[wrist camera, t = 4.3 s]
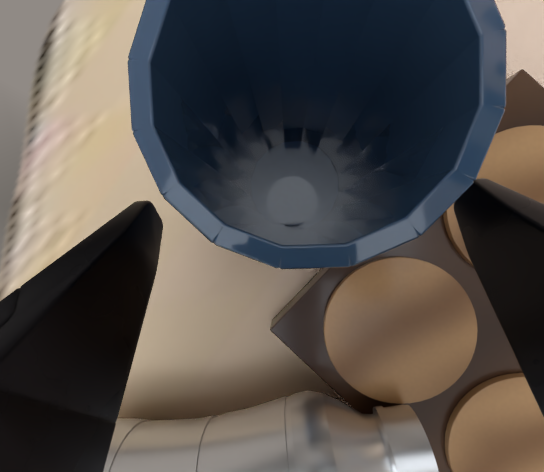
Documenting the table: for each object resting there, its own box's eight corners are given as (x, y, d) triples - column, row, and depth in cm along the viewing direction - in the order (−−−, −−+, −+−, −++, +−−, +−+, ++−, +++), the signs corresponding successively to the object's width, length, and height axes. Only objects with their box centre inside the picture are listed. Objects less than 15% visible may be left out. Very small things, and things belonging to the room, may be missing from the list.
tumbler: (362, 184, 16) (595, 61, 4) (296, 254, 17) (317, 342, 4) (291, 119, 16) (300, -204, 4) (227, 190, 17) (58, 100, 4)
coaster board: (756, 314, 15) (822, 327, 13) (499, 534, 17) (526, 574, 15) (500, 82, 16) (529, 63, 14) (271, 321, 17) (269, 333, 15)
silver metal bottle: (58, 406, 16) (397, 350, 14) (120, 443, 20) (391, 403, 18) (-39, 584, 11) (480, 528, 9) (71, 587, 14) (446, 548, 13)
